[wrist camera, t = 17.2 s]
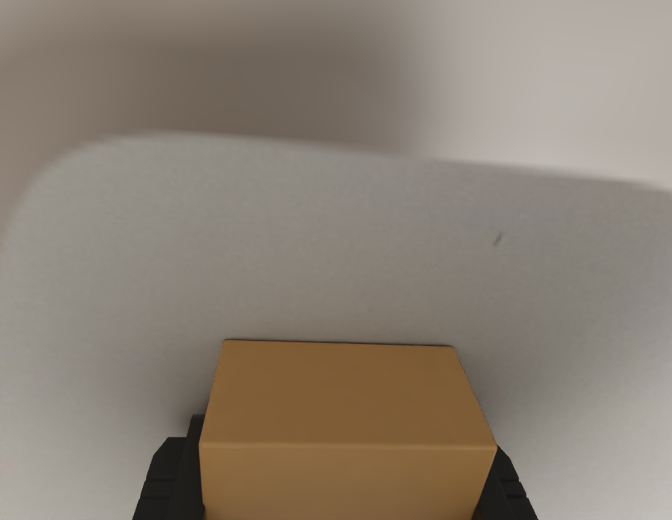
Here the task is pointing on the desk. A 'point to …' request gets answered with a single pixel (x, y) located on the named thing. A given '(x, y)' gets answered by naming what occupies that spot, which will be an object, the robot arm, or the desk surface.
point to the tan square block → (342, 434)
